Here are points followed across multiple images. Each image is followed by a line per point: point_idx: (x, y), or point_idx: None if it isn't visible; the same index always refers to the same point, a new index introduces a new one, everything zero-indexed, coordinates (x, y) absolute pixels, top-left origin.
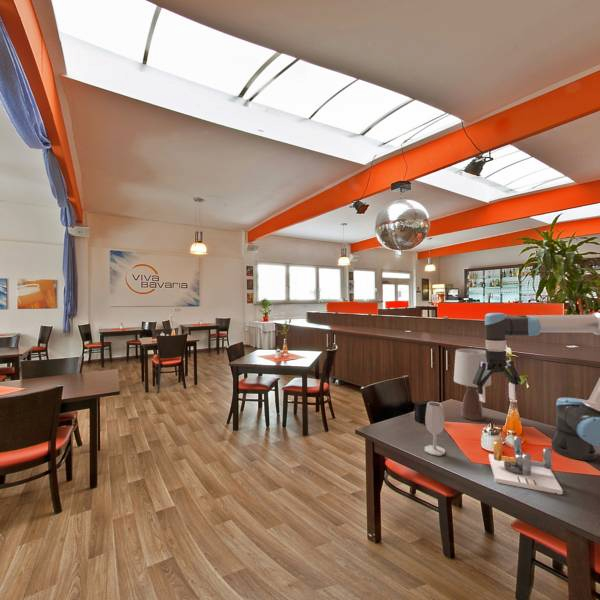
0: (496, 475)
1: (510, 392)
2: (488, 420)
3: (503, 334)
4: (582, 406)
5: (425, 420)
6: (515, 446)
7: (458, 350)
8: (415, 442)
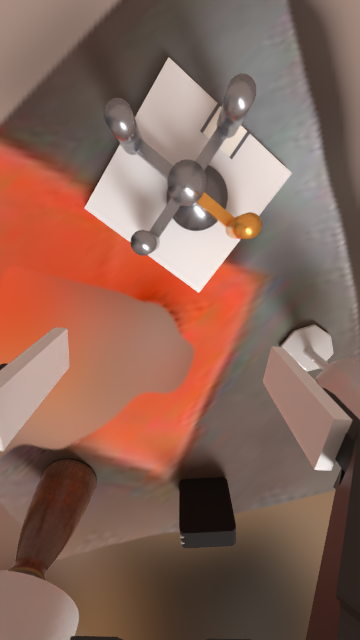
0: (276, 185)
1: (48, 377)
2: (42, 455)
3: None
4: None
5: None
6: (157, 240)
7: None
8: None
